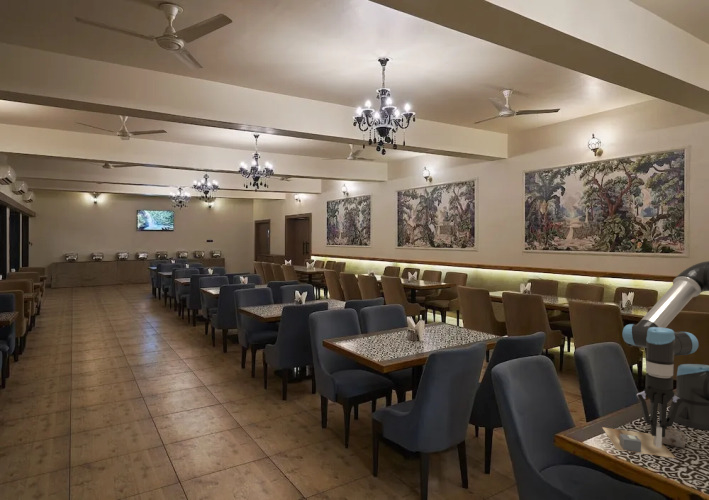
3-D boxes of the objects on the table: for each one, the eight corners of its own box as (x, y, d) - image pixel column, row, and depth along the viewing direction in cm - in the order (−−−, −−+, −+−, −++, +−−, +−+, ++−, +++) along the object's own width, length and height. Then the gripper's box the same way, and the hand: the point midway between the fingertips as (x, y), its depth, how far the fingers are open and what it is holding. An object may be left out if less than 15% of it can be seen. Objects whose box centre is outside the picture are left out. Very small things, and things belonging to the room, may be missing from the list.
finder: (635, 446, 151) (636, 435, 151) (640, 452, 146) (641, 440, 146) (619, 443, 153) (619, 432, 153) (623, 449, 148) (624, 438, 148)
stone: (653, 422, 165) (686, 429, 159) (652, 438, 164) (686, 446, 158) (650, 424, 155) (686, 432, 149) (649, 441, 154) (685, 450, 148)
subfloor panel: (654, 436, 162) (654, 434, 162) (676, 460, 143) (676, 458, 143) (602, 429, 167) (602, 427, 167) (616, 451, 148) (616, 449, 148)
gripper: (677, 373, 149) (675, 444, 149) (633, 369, 153) (631, 438, 153) (687, 380, 142) (685, 453, 142) (640, 375, 146) (638, 447, 146)
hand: (657, 445), depth 147 cm, fingers closed
